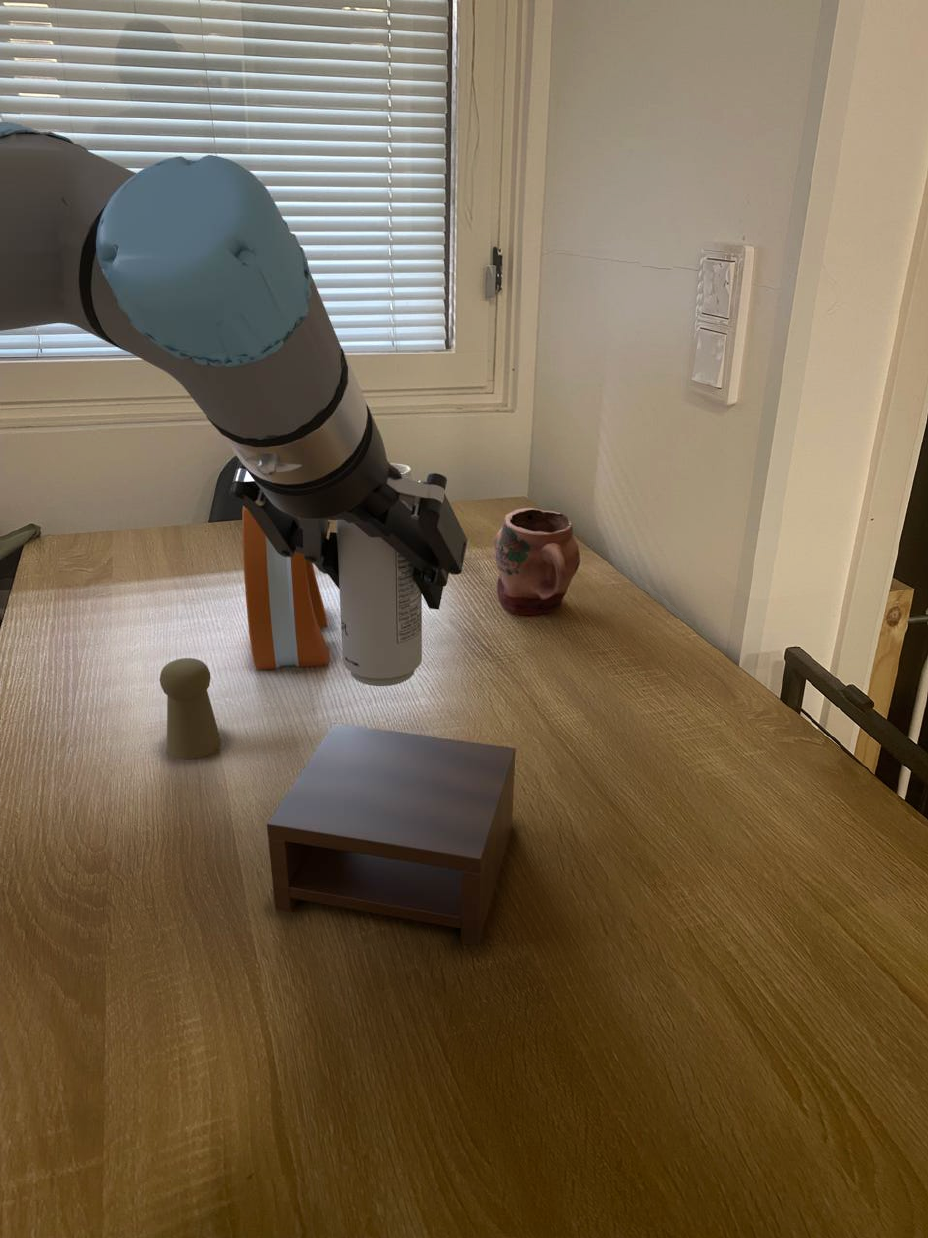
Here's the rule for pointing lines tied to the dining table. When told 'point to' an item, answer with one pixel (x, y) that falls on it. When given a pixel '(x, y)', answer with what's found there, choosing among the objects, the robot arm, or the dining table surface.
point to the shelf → (396, 827)
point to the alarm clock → (281, 604)
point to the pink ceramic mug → (535, 560)
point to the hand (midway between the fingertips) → (395, 587)
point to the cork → (189, 709)
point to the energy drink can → (377, 608)
